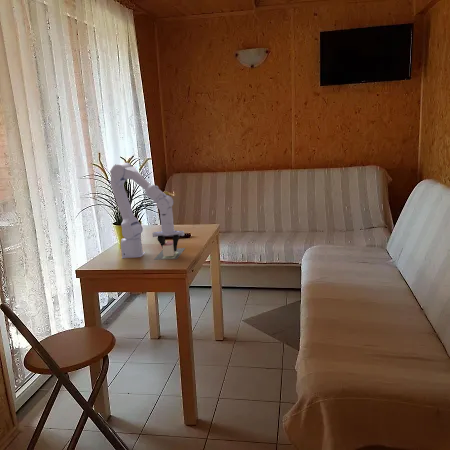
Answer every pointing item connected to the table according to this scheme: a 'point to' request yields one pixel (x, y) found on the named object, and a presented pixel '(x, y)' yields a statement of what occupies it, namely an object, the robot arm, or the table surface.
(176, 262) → the table surface
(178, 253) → the mat
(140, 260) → the table surface
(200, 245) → the table surface
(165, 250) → the card box
